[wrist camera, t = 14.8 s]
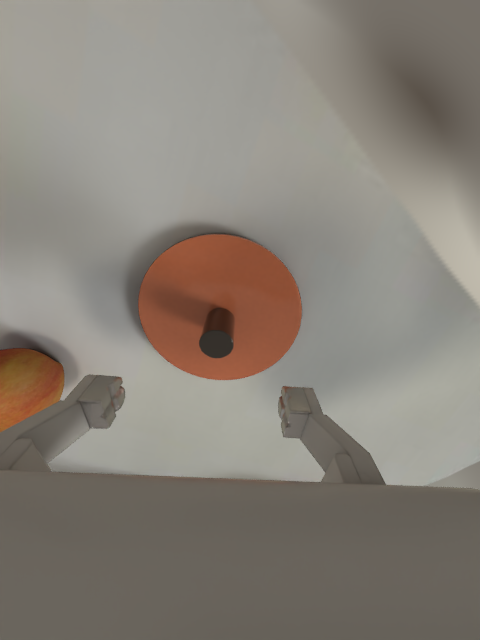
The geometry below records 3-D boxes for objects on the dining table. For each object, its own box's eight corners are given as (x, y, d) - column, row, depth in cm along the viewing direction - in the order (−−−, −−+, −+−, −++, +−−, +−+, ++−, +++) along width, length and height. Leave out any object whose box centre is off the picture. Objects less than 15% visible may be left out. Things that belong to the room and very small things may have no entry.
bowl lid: (316, 240, 16) (341, 254, 12) (283, 376, 22) (292, 415, 18) (131, 224, 16) (93, 232, 11) (152, 367, 22) (132, 405, 18)
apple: (97, 364, 22) (28, 442, 15) (62, 398, 24) (-11, 479, 17) (22, 316, 19) (-105, 383, 12) (-9, 360, 22) (-129, 437, 15)
